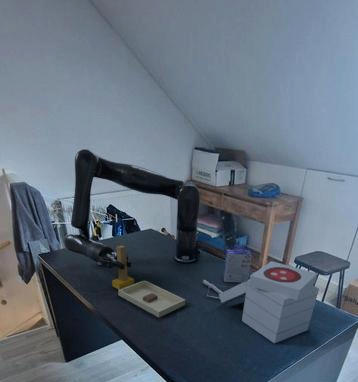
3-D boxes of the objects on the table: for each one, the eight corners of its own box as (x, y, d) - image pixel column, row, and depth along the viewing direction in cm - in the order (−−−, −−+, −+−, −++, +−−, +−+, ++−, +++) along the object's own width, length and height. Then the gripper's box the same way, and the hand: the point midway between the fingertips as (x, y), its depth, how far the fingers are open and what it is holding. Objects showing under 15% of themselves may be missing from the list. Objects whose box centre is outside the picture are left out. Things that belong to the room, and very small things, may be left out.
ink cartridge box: (246, 277, 141) (251, 244, 133) (248, 283, 136) (253, 248, 128) (222, 276, 141) (226, 243, 133) (224, 282, 136) (228, 248, 128)
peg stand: (112, 287, 129) (109, 247, 120) (127, 282, 133) (124, 242, 125) (119, 291, 126) (116, 250, 118) (134, 285, 131) (132, 246, 122)
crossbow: (242, 298, 127) (243, 293, 126) (215, 306, 121) (216, 301, 120) (216, 279, 137) (216, 275, 136) (190, 286, 132) (191, 281, 130)
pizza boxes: (252, 294, 128) (259, 248, 119) (316, 331, 107) (332, 279, 97) (212, 305, 119) (216, 257, 110) (273, 349, 98) (286, 294, 88)
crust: (142, 299, 120) (142, 296, 119) (152, 295, 123) (152, 292, 122) (148, 302, 118) (148, 299, 117) (157, 298, 121) (157, 295, 120)
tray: (118, 296, 123) (118, 290, 121) (144, 286, 131) (144, 280, 129) (158, 319, 110) (158, 312, 109) (185, 306, 118) (185, 299, 117)
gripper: (83, 248, 127) (110, 261, 117) (113, 240, 135) (141, 251, 125) (85, 266, 131) (112, 280, 121) (114, 257, 139) (142, 270, 129)
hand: (127, 265), depth 123 cm, fingers closed on peg stand, 2 cm apart
